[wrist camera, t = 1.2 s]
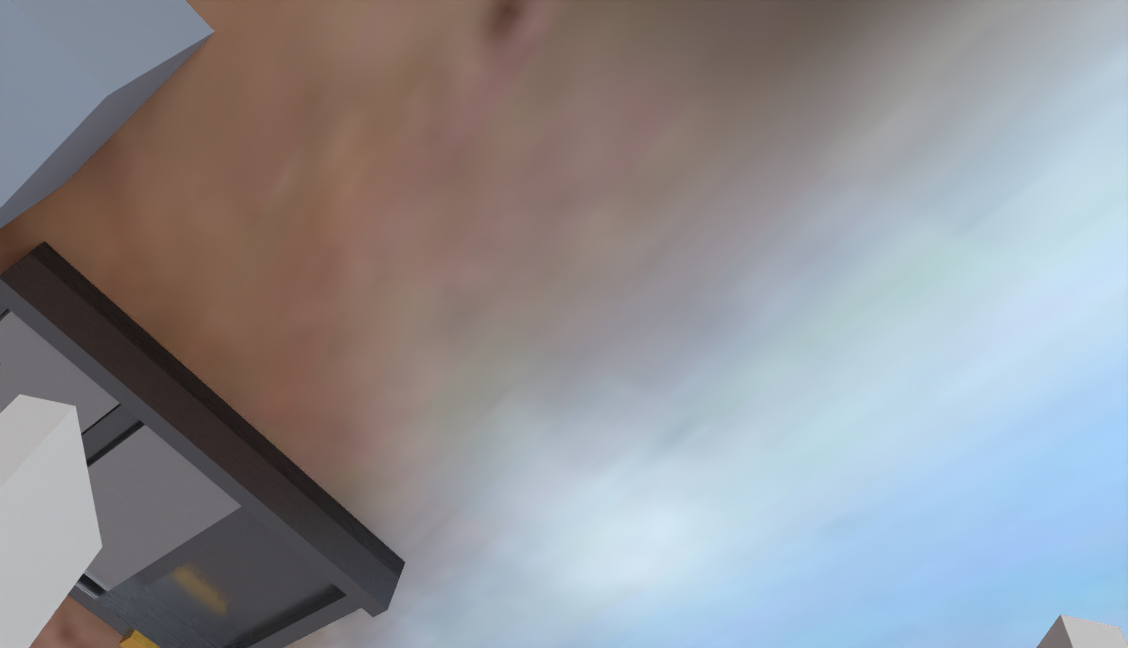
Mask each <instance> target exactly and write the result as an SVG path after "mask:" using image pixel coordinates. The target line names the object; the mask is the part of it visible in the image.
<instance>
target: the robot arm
mask: <svg viewBox="0 0 1128 648" xmlns="http://www.w3.org/2000/svg"><path fill="white" fill-rule="evenodd" d="M101 548H102V542H101V537H100V532H99V527H98V521H97V516H96V511H95V506H94V500H93V495H92V490H91V485H90V479H89V474H88V469H87V464H86V458H85V453H84V448H83V443H82V437H81V432H80V427H79V422H78V416H77V411H76V406H73V405H68V404H63V403H59V402H54V401H49V400H45V399H40V398H35V397H30V396H26V395H21V394H19V395H18V396H17V397H16V398H15V399H14V400H13V401H12V402H11V403H10V404H9V405H8V406H7V407H6V408H5V409H4V410H3V411H2V412H1V413H0V648H29V646H30V645H31V644H32V642H33V641H34V640H35V638H36V637H37V636H38V634H39V633H40V631H41V630H42V629H43V627H44V626H45V625H46V623H47V622H48V620H49V619H50V618H51V616H52V615H53V614H54V612H55V611H56V610H57V608H58V607H59V605H60V604H61V603H62V601H63V600H64V599H65V597H66V596H67V595H68V593H69V592H70V590H71V589H72V588H73V586H74V585H75V584H76V582H77V581H78V580H79V578H80V577H81V575H82V574H83V573H84V571H85V570H86V569H87V567H88V566H89V564H90V563H91V562H92V560H93V559H94V558H95V556H96V555H97V554H98V552H99V551H100V549H101ZM1037 648H1128V645H1127V642H1126V640H1125V638H1124V636H1123V633H1122V631H1121V629H1120V627H1118V626H1113V625H1108V624H1103V623H1099V622H1094V621H1089V620H1084V619H1080V618H1075V617H1070V616H1066V615H1061V614H1060V616H1059V617H1058V619H1057V620H1056V621H1055V623H1054V624H1053V626H1052V627H1051V628H1050V630H1049V631H1048V633H1047V634H1046V635H1045V637H1044V638H1043V639H1042V641H1041V642H1040V644H1039V645H1038V646H1037Z"/></svg>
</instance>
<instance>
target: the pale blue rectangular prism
mask: <svg viewBox="0 0 1128 648" xmlns="http://www.w3.org/2000/svg"><path fill="white" fill-rule="evenodd" d="M213 33H214V31H213V30H212V29H211V27H210V26H209V25H208V24H207V23H206V22H205V21H204V20H203V19H202V18H201V17H200V16H199V15H198V14H197V13H196V11H195V10H194V9H193V8H192V7H191V6H190V5H189V4H188V3H187V2H186V1H185V0H0V228H2V227H3V226H4V225H6V224H7V223H9V222H10V221H12V220H13V219H15V218H16V217H17V216H19V215H20V214H22V213H23V212H25V211H26V210H28V209H29V208H30V207H32V206H33V205H35V204H36V203H38V202H39V201H41V200H42V199H43V198H45V197H46V196H48V195H49V194H51V193H52V192H54V191H55V190H56V189H58V188H59V187H61V186H62V185H64V184H65V183H66V182H67V181H68V180H69V179H70V178H71V177H72V176H73V175H74V174H75V173H76V172H77V171H78V170H79V168H80V167H81V166H82V165H83V164H84V163H85V162H86V161H87V160H88V159H89V158H90V157H91V156H92V155H93V154H94V153H95V152H96V151H97V150H98V149H99V148H100V147H101V146H102V145H103V144H104V143H105V142H106V141H107V140H108V139H109V138H110V137H111V136H112V135H113V134H114V133H115V132H116V131H117V130H118V129H119V128H120V127H121V126H122V125H123V124H124V123H125V122H126V121H127V120H128V119H129V118H130V117H131V116H132V115H133V114H134V113H135V112H136V111H137V110H138V109H139V108H140V107H141V106H142V105H143V104H144V103H145V102H146V101H147V100H148V99H149V98H150V96H151V95H152V94H153V93H154V92H155V91H156V90H157V89H158V88H159V87H160V86H161V85H162V84H163V83H164V82H165V81H166V80H167V79H168V78H169V77H170V76H171V75H172V74H173V73H174V72H175V71H176V70H177V69H178V68H179V67H180V66H181V65H182V64H183V63H184V62H185V61H186V60H187V59H188V58H189V57H190V56H191V55H192V54H193V53H194V52H195V51H196V50H197V49H198V48H199V47H200V46H201V45H202V44H203V43H204V42H205V41H206V40H207V39H208V38H209V37H210V36H211V35H212V34H213Z"/></svg>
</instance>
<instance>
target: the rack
mask: <svg viewBox="0 0 1128 648" xmlns="http://www.w3.org/2000/svg"><path fill="white" fill-rule="evenodd" d="M19 394H21V395H26V396H30V397H35V398H40V399H45V400H49V401H54V402H59V403H63V404H68V405H73V406H76V411H77V416H78V422H79V427H80V432H81V437H82V443H83V448H84V453H85V458H86V464H87V469H88V474H89V479H90V485H91V490H92V495H93V500H94V506H95V511H96V516H97V521H98V527H99V532H100V537H101V542H102V548H101V549H100V551H99V552H98V554H97V555H96V556H95V558H94V559H93V560H92V562H91V563H90V564H89V566H88V567H87V569H86V570H85V571H84V573H83V574H82V575H81V577H80V578H79V580H78V581H77V582H76V584H75V585H74V586H73V588H72V589H71V590H70V592H69V593H68V595H69V596H70V597H72V598H73V599H74V600H76V601H77V602H78V603H80V604H81V605H82V606H84V607H85V608H87V609H88V610H89V611H91V612H92V613H93V614H95V615H96V616H97V617H99V618H100V619H101V620H103V621H104V622H105V623H107V624H108V625H110V626H111V627H112V628H114V629H115V630H116V631H118V632H119V633H120V634H122V635H123V636H124V637H123V638H122V640H121V641H120V643H119V644H118V645H120V646H121V647H122V648H283V647H285V646H287V645H289V644H291V643H293V642H295V641H297V640H299V639H301V638H303V637H305V636H307V635H308V634H310V633H312V632H314V631H316V630H318V629H320V628H322V627H324V626H326V625H328V624H330V623H332V622H334V621H336V620H338V619H340V618H342V617H344V616H346V615H348V614H350V613H352V612H353V611H355V610H357V609H359V608H363V609H364V610H365V611H366V612H367V613H369V614H370V615H371V616H372V617H374V616H376V615H378V614H380V613H382V612H384V611H386V610H388V607H389V604H390V602H391V599H392V596H393V594H394V591H395V588H396V586H397V583H398V580H399V578H400V575H401V572H402V570H403V567H404V564H405V562H404V561H403V560H402V559H401V558H399V557H398V556H397V555H396V554H395V553H394V552H393V551H392V550H390V549H389V548H388V547H387V546H386V545H385V544H384V543H383V542H381V541H380V540H379V539H378V538H377V537H376V536H375V535H374V534H373V533H371V532H370V531H369V530H368V529H367V528H366V527H365V526H364V525H362V524H361V523H360V522H359V521H358V520H357V519H356V518H355V517H353V516H352V515H351V514H350V513H349V512H348V511H347V510H346V509H344V508H343V507H342V506H341V505H340V504H339V503H338V502H337V501H335V500H334V499H333V498H332V497H331V496H330V495H329V494H328V493H326V492H325V491H324V490H323V489H322V488H321V487H320V486H319V485H317V484H316V483H315V482H314V481H313V480H312V479H311V478H310V477H308V476H307V475H306V474H305V473H304V472H303V471H302V470H301V469H299V468H298V467H297V466H296V465H295V464H294V463H293V462H292V461H290V460H289V459H288V458H287V457H286V456H285V455H284V454H283V453H281V452H280V451H279V450H278V449H277V448H276V447H275V446H274V445H272V444H271V443H270V442H269V441H268V440H267V439H266V438H265V437H264V436H262V435H261V434H260V433H259V432H258V431H257V430H256V429H255V428H253V427H252V426H251V425H250V424H249V423H248V422H247V421H246V420H244V419H243V418H242V417H241V416H240V415H239V414H238V413H237V412H235V411H234V410H233V409H232V408H231V407H230V406H229V405H228V404H226V403H225V402H224V401H223V400H222V399H221V398H220V397H219V396H217V395H216V394H215V393H214V392H213V391H212V390H211V389H210V388H208V387H207V386H206V385H205V384H204V383H203V382H202V381H201V380H199V379H198V378H197V377H196V376H195V375H194V374H193V373H192V372H190V371H189V370H188V369H187V368H186V367H185V366H184V365H183V364H181V363H180V362H179V361H178V360H177V359H176V358H175V357H174V356H172V355H171V354H170V353H169V352H168V351H167V350H166V349H165V348H164V347H162V346H161V345H160V344H159V343H158V342H157V341H156V340H155V339H153V338H152V337H151V336H150V335H149V334H148V333H147V332H146V331H144V330H143V329H142V328H141V327H140V326H139V325H138V324H137V323H135V322H134V321H133V320H132V319H131V318H130V317H129V316H128V315H126V314H125V313H124V312H123V311H122V310H121V309H120V308H119V307H117V306H116V305H115V304H114V303H113V302H112V301H111V300H110V299H108V298H107V297H106V296H105V295H104V294H103V293H102V292H101V291H99V290H98V289H97V288H96V287H95V286H94V285H93V284H92V283H90V282H89V281H88V280H87V279H86V278H85V277H84V276H83V275H81V274H80V273H79V272H78V271H77V270H76V269H75V268H74V267H72V266H71V265H70V264H69V263H68V262H67V261H66V260H65V259H64V258H62V257H61V256H60V255H59V254H58V253H57V252H56V251H55V250H53V249H52V248H51V247H50V246H49V245H48V244H47V243H46V242H43V243H42V244H40V245H39V246H38V247H36V248H35V249H34V250H33V251H31V252H30V253H29V254H27V255H26V256H25V257H23V258H22V259H21V260H19V261H18V262H17V263H15V264H14V265H13V266H11V267H10V268H9V269H7V270H6V271H5V272H3V273H2V274H1V275H0V413H1V412H2V411H3V410H4V409H5V408H6V407H7V406H8V405H9V404H10V403H11V402H12V401H13V400H14V399H15V398H16V397H17V396H18V395H19Z"/></svg>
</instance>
